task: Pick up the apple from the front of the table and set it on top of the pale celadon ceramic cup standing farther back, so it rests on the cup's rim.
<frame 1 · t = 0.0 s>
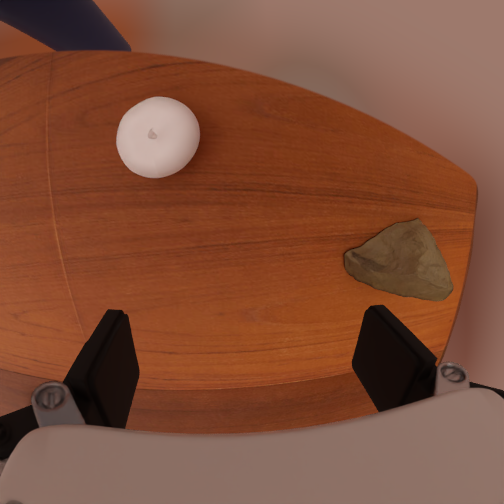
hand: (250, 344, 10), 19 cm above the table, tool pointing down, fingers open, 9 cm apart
rock: (381, 244, 31), on the table
apple: (166, 140, 25), on the table
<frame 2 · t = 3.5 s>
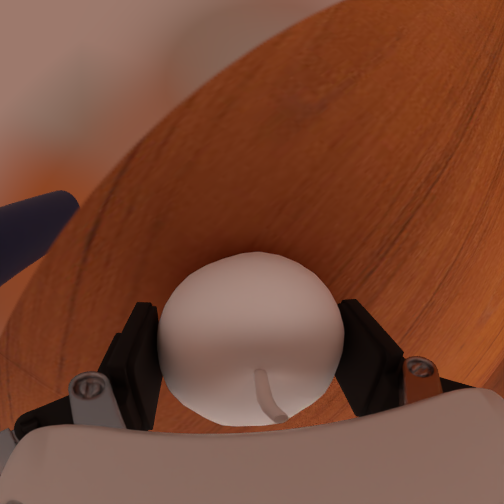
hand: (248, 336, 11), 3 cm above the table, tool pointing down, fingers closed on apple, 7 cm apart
apple: (242, 298, 14), on the table, touching gripper
when the fingers open (12 cm above the table, at t = 12.8 s): apple stays where it is, resting on cup.
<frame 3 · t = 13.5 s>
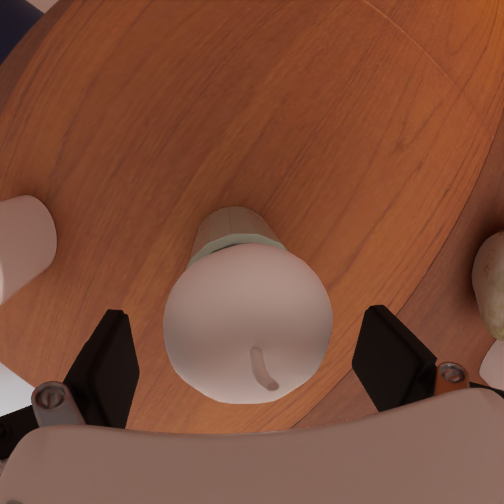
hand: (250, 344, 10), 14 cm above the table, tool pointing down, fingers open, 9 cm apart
tall pillar cylinder: (497, 352, 35), on the table
cup: (234, 245, 23), on the table
pill bottle: (28, 234, 21), on the table
apple: (241, 288, 15), point 8 cm above the table, touching cup
sugar bowl: (488, 263, 28), on the table
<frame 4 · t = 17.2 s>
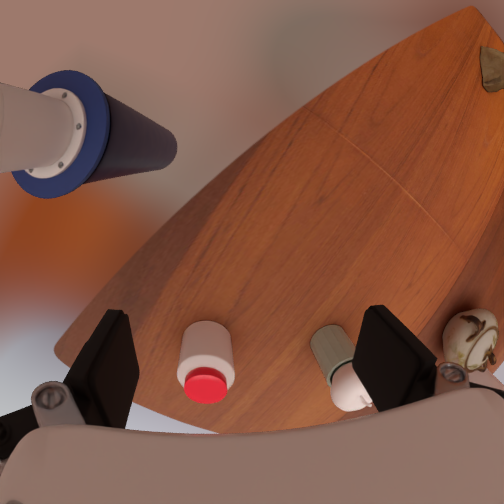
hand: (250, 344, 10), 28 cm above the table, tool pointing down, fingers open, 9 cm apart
tall pillar cylinder: (464, 373, 58), on the table
rock: (484, 69, 33), on the table
cup: (328, 340, 46), on the table
pill bottle: (206, 340, 43), on the table
apple: (345, 371, 38), point 8 cm above the table, touching cup
sugar bowl: (454, 327, 50), on the table
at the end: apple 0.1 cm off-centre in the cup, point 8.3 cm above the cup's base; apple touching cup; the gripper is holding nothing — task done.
